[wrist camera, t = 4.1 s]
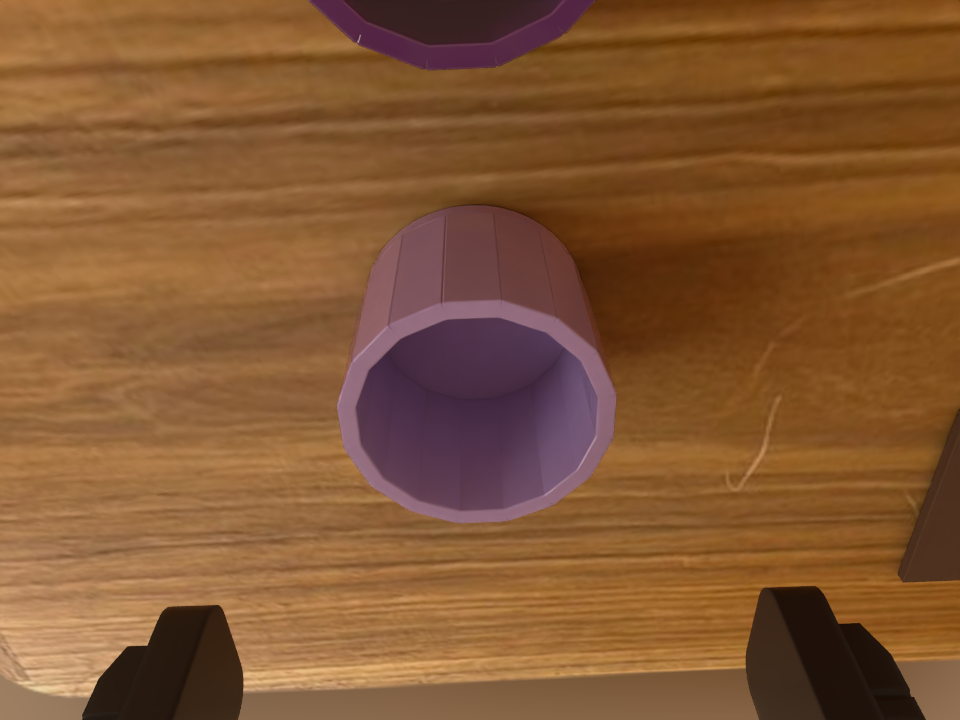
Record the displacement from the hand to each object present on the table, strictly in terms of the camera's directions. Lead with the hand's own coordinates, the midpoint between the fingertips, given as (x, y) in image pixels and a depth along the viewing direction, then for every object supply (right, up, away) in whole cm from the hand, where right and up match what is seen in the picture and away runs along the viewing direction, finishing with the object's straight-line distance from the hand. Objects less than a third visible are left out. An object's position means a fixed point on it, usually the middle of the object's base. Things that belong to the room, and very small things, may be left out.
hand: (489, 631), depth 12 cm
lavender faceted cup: (0, +5, +9) cm, 10 cm away
